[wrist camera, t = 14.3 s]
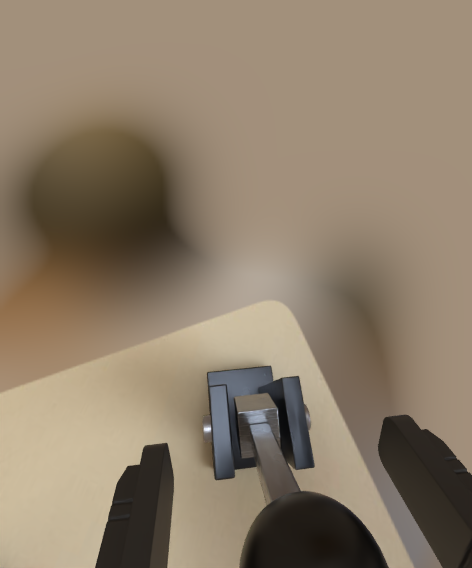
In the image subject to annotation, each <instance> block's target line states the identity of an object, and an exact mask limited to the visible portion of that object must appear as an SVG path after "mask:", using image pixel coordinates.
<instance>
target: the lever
mask: <svg viewBox="0 0 472 568" xmlns="http://www.w3.org/2000/svg"><path fill="white" fill-rule="evenodd" d="M234 406H235V418H236V430H237V439H238V444H239V450H240V456H241V458H242V459H243V458H251V457H254V459H255V463H256V467H257V471H258V474H259V478H260V482H261V486H262V490H263V493H264V497H265V501H266V505H267V506H266V507H265V508H264V509H263V510H262V511H261V513H260V514H259V515H258V516H257V517H256V519H255V521H254V522H253V524H252V526H251V527H250V530H249V532H248V534H247V537H246V539H245V542H244V545H243V549H242V553H241V558H240V566H239V568H389V567H388V565H387V563H386V560H385V558H384V556H383V554H382V551H381V549H380V547H379V546H378V544H377V542H376V541H375V539H374V538H373V536H372V534H371V533H370V531H369V530H368V529H367V528H366V526H365V525H364V524H363V523H362V521H361V520H360V519H359V518H358V517H357V516H356V515H355V514H354V513H353V512H351V511H350V510H349V509H348V508H347V507H345V506H344V505H342V504H341V503H339V502H338V501H336V500H334V499H332V498H330V497H328V496H325V495H322V494H319V493H315V492H308V491H300V488H299V486H298V484H297V482H296V480H295V478H294V476H293V474H292V471H291V469H290V467H289V465H288V463H287V461H286V459H285V456H284V454H283V452H282V447H281V436H280V426H279V415H278V408H277V406H276V404H275V403H274V401H273V400H272V398H271V396H270V395H269V393H263V394H254V395H245V396H236V397H234Z"/></svg>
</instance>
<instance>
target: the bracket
mask: <svg viewBox="0 0 472 568" xmlns="http://www.w3.org/2000/svg"><path fill="white" fill-rule="evenodd" d="M207 378H208V393H209V408H210V415H205V416H203V437H204V442H205V443H209V442H212V453H213V467H214V476H215V480H223V479H231V478H234V477H235V470H237V469H245V468H252V467H256V463H255V459H254V457H251V458H243V459H242V458H241V456H240V450H239V444H238V439H237V430H236V418H235V406H234V397H236V396H245V395H254V394H263V393H269V395H270V396H271V398H272V400H273V401H274V403H275V404H276V406H277V408H278V415H279V426H280V436H281V447H282V452H283V454H284V456H285V459H286V461H287V462H288V463H289V464H290V465H291V466H292V467H293V468H294V469H295V470H300V469H307V468H314V467H315V465H314V460H313V454H312V448H311V442H310V437H309V431H308V430H310V428H311V421H310V415H309V411H308V408H307V406H306V405H305V404H304V402H303V397H302V391H301V385H300V379H299V376H294V377H285V378H280V379H278V380H276V381H273V375H272V368H271V366H263V367H254V368H244V369H234V370H225V371H215V372H208V373H207Z"/></svg>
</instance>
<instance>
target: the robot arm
mask: <svg viewBox="0 0 472 568" xmlns="http://www.w3.org/2000/svg"><path fill="white" fill-rule="evenodd" d="M378 451H379V456H380V459H381V462H382V464H383V466H384V468H385V469H386V471H387V473H388V474H389V476H390V478H391V480H392V481H393V483H394V485H395V486H396V488H397V490H398V492H399V493H400V495H401V497H402V498H403V500H404V502H405V504H406V505H407V507H408V509H409V510H410V512H411V514H412V516H413V517H414V519H415V521H416V522H417V524H418V526H419V528H420V529H421V531H422V533H423V534H424V536H425V538H426V539H427V541H428V543H429V545H430V546H431V548H432V550H433V551H434V553H435V555H436V557H437V558H438V560H439V562H440V563H441V565H442V567H443V568H472V475H471V474H470V473H468V472H467V469H466V468H465V466H464V465H463V464H462V463H461V462H460V461H459V460H457V458H456V456H455V455H454V454H453V452H452V451H451V450H450V449H449V447H448V446H447V445H446V444H445V443H444V442H443V441H442V440H441V439H439V438H438V437H437V436H435V435H434V434H433V433H431V432H430V431H429V430H427V429H424V430H421V429H420V428H419V426H418V425H417V424H416V423H415V422H414V420H413V419H412V418H411V417H410V416H408V415H399V416H391V417H386V418H385V419H384V421H383V425H382V430H381V435H380V439H379V444H378ZM173 493H174V476H173V469H172V463H171V458H170V453H169V448H168V444H167V443H162V444H154V445H146V446H144V448H143V452H142V457H141V462H140V465H133V466H128V467H127V468H126V470H125V471H124V473H123V474H122V476H121V478H120V479H119V481H118V482H117V485H116V489H115V493H114V497H113V501H112V506H111V509H110V512H109V516H108V522H107V524H106V528H105V532H104V536H103V539H102V543H101V547H100V551H99V555H98V559H97V563H96V566H95V568H167V563H168V552H169V540H170V528H171V516H172V505H173Z"/></svg>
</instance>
